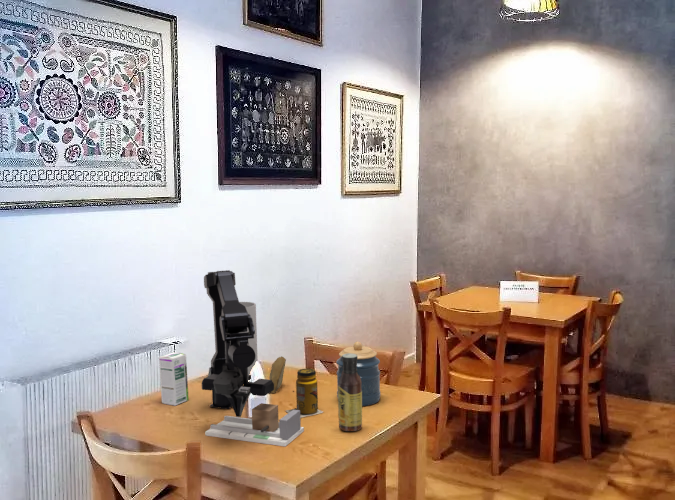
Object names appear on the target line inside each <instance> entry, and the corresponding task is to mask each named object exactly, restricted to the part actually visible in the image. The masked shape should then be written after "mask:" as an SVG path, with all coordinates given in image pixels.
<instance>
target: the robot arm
mask: <svg viewBox="0 0 675 500" xmlns="http://www.w3.org/2000/svg"><path fill="white" fill-rule="evenodd" d="M203 286H204V289H205V290H206V294H207V296H208V297H209V299H210V300H211V302H212V309H213V326H214V327H213V329H214V330H213V331H214V344H215V345H214V346H215V347H214V349H215V353H213V356H212V358H211V359H210V367H209V368H208V373H207V376H206V377H204V378H203V379H202V381H201V389H202V390H203V391H211V397H212V399H211V401H212V403H211V404H209V407H210V408H215V409H223V410H230V409H231V408H232V409H233V411H234V415H235V417H241V416H242V414H243V411H244V409H245V405H246V403H247V401H248V399H249V397H250V395H251V394H252V396H258V397H264V396H267V395H268V394H270V392H271V391H273V390H274V383H273V382H272V380H270V379H268V378H267V379H266V378H258V379H257V380H254V381H249V382H248V380H250V379H251V375H248V367H249V366H251V365H252V364H253V362H254V361H255V352H254V350H253V348H252V347H251V346H250V345H249V343H248V339H252V338H254V334H255V329H254V324H253V320H252V318H251V315H250V314H248V312H247V309H246V307H245V306H244V305H242V304H241V303H239V302H240V300H239V296H238V294H237V290H236V273H235V272H233V270H230V269H229V270H217V271H208V272H207V273H206V274H205V275H204V276H203ZM247 328H248V330H249V332H247ZM239 332H245V333H239Z"/></svg>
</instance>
